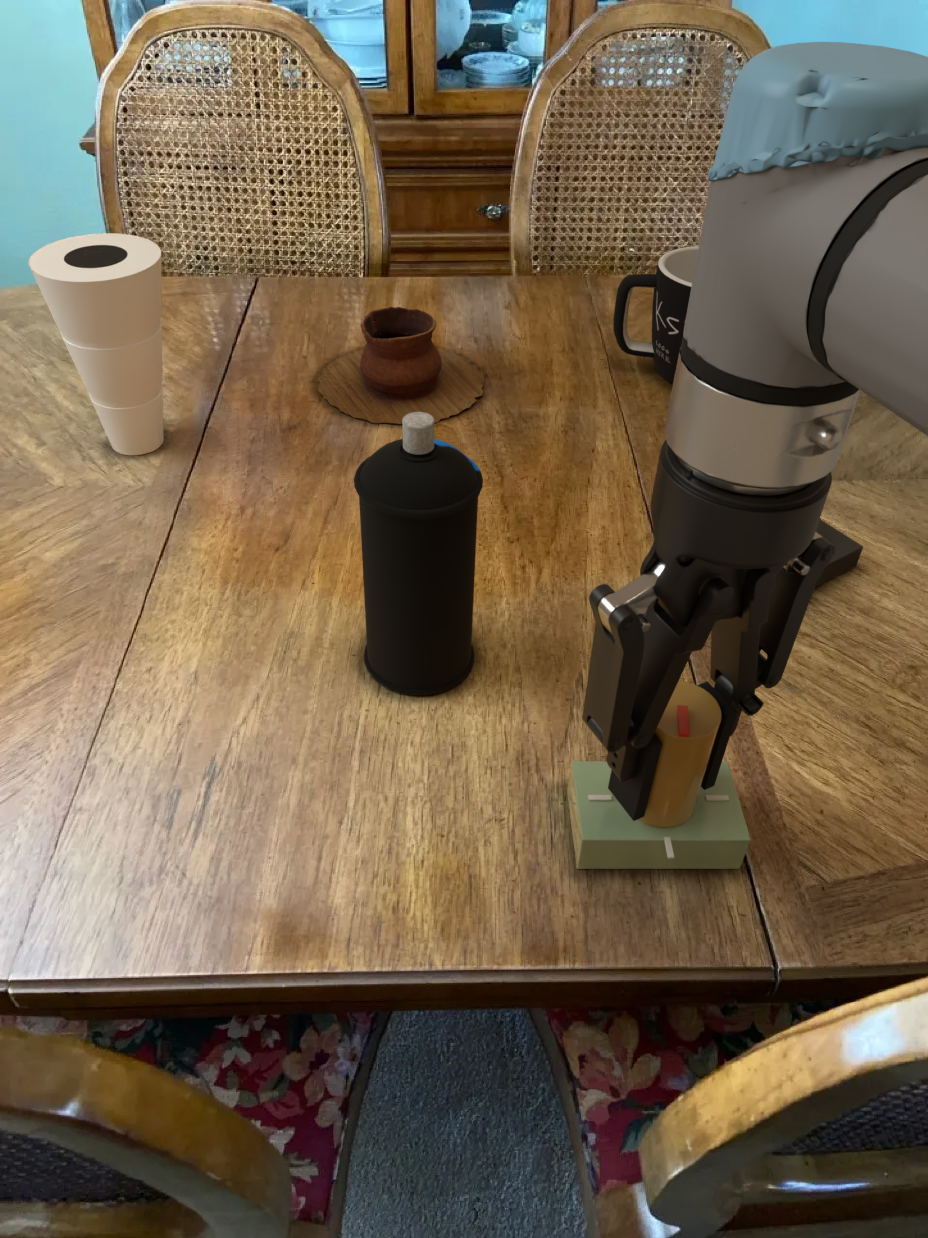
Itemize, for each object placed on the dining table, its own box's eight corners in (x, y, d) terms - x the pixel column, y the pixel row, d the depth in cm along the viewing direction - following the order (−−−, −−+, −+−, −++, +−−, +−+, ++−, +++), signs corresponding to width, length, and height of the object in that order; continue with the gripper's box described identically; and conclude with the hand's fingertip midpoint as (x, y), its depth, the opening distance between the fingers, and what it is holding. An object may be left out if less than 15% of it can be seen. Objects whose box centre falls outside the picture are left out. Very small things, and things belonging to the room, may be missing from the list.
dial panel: (714, 775, 64) (724, 743, 62) (745, 888, 58) (757, 857, 55) (564, 774, 64) (569, 743, 62) (578, 888, 57) (584, 857, 55)
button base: (856, 567, 81) (870, 528, 79) (775, 608, 77) (787, 569, 74) (759, 503, 88) (769, 466, 85) (679, 538, 84) (687, 500, 81)
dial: (621, 766, 60) (641, 672, 55) (692, 774, 60) (719, 680, 55) (622, 824, 57) (643, 730, 52) (697, 832, 57) (726, 738, 51)
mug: (593, 360, 108) (606, 254, 100) (697, 329, 115) (717, 227, 107) (693, 424, 98) (717, 312, 90) (801, 386, 105) (832, 278, 97)
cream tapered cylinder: (66, 431, 94) (14, 246, 82) (172, 404, 99) (137, 225, 87) (99, 484, 87) (48, 291, 76) (210, 452, 92) (179, 266, 80)
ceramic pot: (303, 420, 97) (296, 355, 92) (332, 341, 110) (328, 281, 106) (481, 430, 96) (484, 365, 92) (488, 350, 110) (491, 289, 105)
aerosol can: (435, 713, 67) (438, 470, 54) (341, 668, 71) (322, 428, 57) (494, 646, 73) (510, 410, 60) (404, 607, 76) (400, 374, 63)
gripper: (633, 551, 37) (571, 892, 52) (955, 449, 43) (814, 781, 59) (533, 455, 42) (503, 793, 57) (835, 376, 48) (735, 700, 63)
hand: (661, 786), depth 58 cm, fingers closed on dial, 4 cm apart
